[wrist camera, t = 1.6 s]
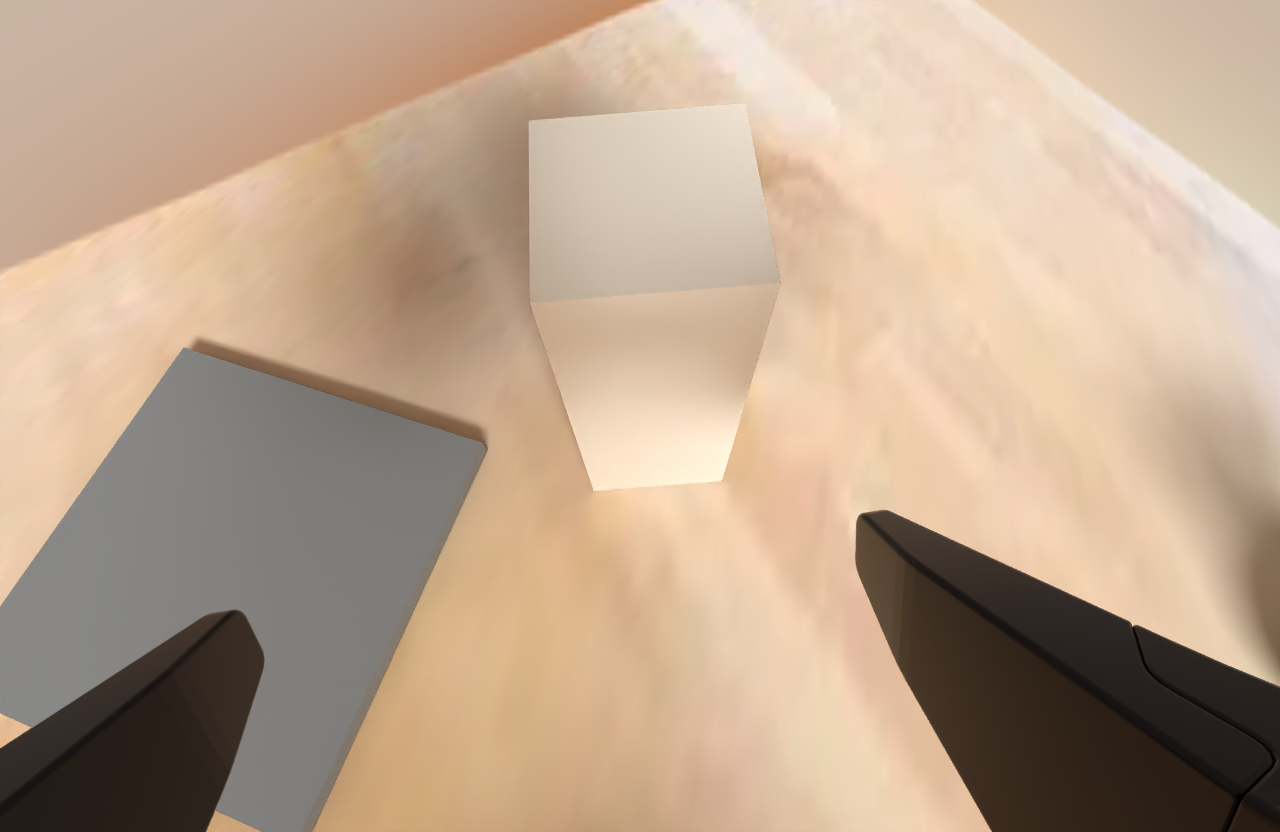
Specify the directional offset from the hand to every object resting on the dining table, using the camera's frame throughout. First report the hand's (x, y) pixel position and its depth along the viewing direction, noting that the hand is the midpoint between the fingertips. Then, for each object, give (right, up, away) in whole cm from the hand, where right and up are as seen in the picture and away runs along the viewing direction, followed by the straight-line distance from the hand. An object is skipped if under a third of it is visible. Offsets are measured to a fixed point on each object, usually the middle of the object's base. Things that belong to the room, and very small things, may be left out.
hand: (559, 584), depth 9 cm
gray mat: (-14, -3, +14) cm, 20 cm away
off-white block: (+2, +2, +16) cm, 16 cm away
